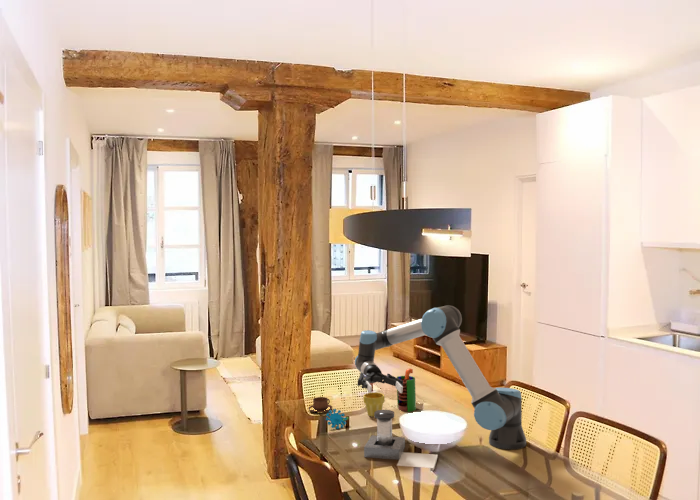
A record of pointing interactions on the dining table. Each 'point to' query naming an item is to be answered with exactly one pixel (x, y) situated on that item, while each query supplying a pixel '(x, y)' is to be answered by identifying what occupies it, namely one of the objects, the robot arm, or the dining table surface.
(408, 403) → the motor
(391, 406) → the dining table surface
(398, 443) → the housing
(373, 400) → the plant pot
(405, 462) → the pad
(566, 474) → the dining table surface
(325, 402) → the cup and saucer
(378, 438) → the flanged shaft
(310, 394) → the dining table surface
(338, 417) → the gear
